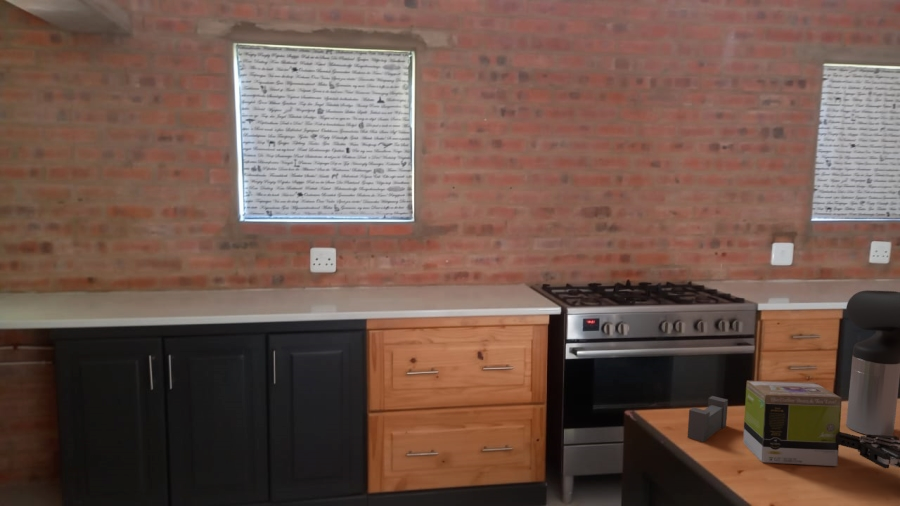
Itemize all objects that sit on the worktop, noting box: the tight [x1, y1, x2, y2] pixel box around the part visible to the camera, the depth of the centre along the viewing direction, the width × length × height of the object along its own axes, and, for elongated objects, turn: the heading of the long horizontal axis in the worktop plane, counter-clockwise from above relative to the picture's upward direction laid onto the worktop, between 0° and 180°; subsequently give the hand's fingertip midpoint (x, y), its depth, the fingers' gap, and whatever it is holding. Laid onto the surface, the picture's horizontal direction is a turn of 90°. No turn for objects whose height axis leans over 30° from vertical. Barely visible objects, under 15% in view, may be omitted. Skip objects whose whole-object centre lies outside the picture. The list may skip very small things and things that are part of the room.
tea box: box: [743, 380, 843, 467], centre depth 124 cm, size 15×10×15 cm
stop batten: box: [687, 395, 729, 443], centre depth 136 cm, size 14×4×6 cm, turn 136°
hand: (836, 437), depth 118 cm, fingers closed
